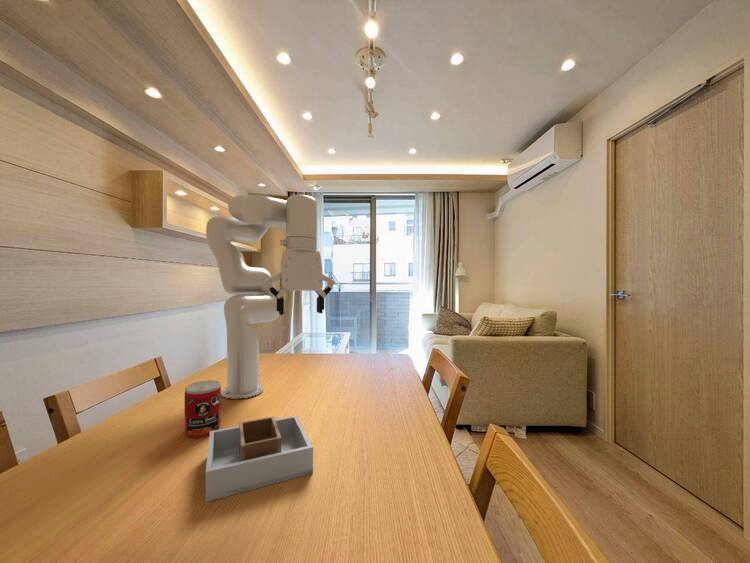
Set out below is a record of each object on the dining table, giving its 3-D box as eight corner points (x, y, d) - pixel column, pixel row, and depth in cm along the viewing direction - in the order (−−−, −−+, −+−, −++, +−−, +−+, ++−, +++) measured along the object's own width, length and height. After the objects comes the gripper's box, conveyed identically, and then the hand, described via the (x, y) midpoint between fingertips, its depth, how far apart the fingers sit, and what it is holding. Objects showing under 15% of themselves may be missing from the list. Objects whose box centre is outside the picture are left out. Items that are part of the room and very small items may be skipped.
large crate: (209, 455, 65) (209, 431, 64) (296, 436, 72) (296, 415, 72) (205, 502, 51) (205, 472, 51) (312, 473, 59) (313, 447, 59)
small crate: (239, 451, 65) (239, 422, 65) (273, 443, 68) (274, 416, 68) (241, 479, 56) (241, 446, 56) (281, 469, 59) (281, 437, 59)
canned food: (183, 442, 70) (183, 393, 70) (185, 426, 77) (186, 382, 77) (220, 434, 73) (221, 388, 73) (220, 420, 80) (220, 378, 80)
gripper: (267, 242, 71) (266, 316, 71) (338, 246, 78) (338, 313, 78) (263, 245, 77) (263, 313, 78) (329, 248, 85) (329, 310, 85)
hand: (300, 313), depth 78 cm, fingers open, 9 cm apart
